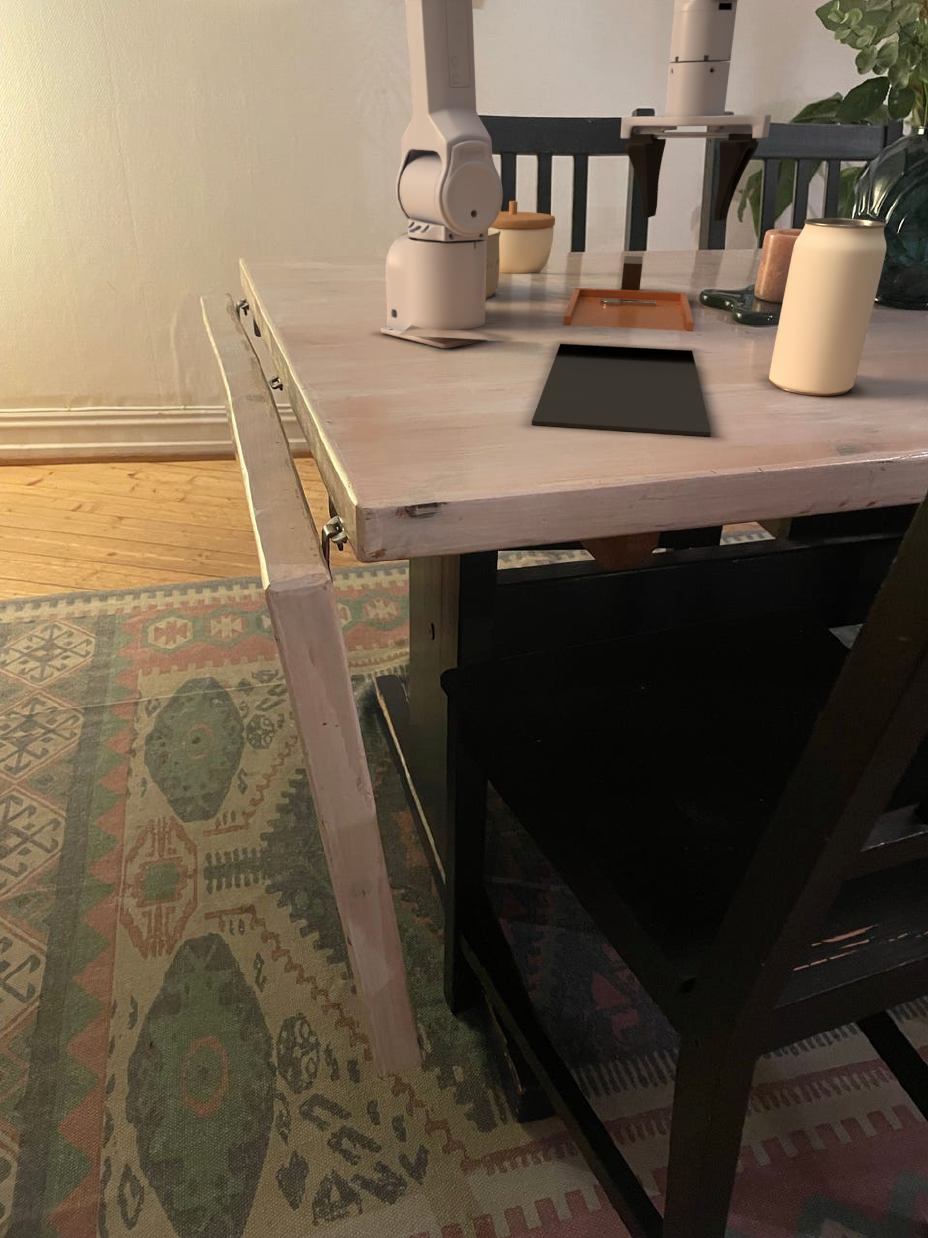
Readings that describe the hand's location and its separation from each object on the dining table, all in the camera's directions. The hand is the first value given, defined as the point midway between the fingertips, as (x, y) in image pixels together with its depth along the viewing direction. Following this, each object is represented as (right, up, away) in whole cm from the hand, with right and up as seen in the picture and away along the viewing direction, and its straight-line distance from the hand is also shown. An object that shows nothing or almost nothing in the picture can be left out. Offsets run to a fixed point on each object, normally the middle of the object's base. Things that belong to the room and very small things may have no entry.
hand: (684, 217), depth 90 cm
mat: (-10, -23, -20) cm, 32 cm away
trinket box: (-17, +3, +24) cm, 29 cm away
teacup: (-24, -6, +8) cm, 26 cm away
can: (+5, -23, -21) cm, 31 cm away
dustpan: (-6, -10, +1) cm, 11 cm away
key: (-6, -9, +1) cm, 10 cm away
